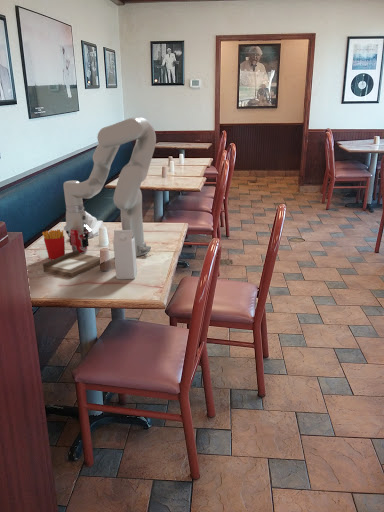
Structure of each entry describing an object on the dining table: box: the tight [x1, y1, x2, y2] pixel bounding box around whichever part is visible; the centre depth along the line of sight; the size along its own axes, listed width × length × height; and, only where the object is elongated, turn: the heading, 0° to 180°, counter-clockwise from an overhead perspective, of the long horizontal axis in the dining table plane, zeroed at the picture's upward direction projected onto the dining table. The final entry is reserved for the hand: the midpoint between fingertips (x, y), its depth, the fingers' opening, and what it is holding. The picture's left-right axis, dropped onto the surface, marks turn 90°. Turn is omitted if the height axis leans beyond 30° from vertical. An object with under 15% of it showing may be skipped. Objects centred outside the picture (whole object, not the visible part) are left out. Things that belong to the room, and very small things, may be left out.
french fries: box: [42, 229, 66, 260], centre depth 201 cm, size 9×4×13 cm, turn 102°
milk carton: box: [112, 229, 138, 280], centre depth 175 cm, size 7×7×19 cm
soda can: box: [70, 229, 88, 254], centre depth 208 cm, size 7×7×12 cm
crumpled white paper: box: [84, 210, 104, 239], centre depth 234 cm, size 12×15×14 cm
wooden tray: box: [42, 250, 101, 279], centre depth 190 cm, size 16×20×4 cm
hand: (79, 245), depth 208 cm, fingers closed on soda can, 7 cm apart
